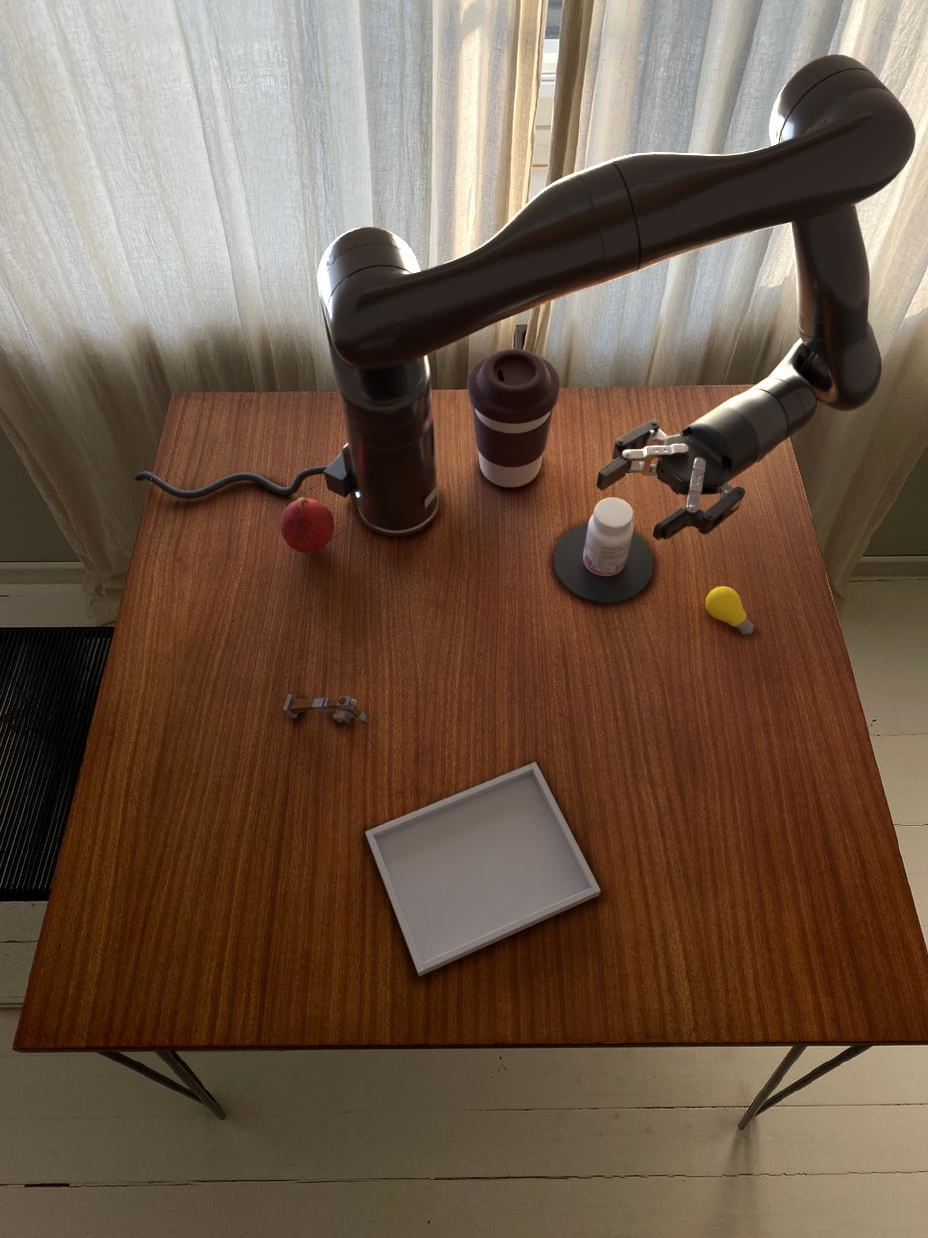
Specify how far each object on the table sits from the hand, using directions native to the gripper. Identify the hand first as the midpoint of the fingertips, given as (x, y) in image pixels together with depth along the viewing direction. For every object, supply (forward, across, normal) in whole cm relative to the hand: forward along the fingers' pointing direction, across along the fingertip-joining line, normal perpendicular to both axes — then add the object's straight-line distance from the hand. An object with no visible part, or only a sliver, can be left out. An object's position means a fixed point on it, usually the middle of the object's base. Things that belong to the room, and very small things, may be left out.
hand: (627, 508), depth 91 cm
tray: (+34, +18, +8) cm, 39 cm away
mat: (+2, 0, +8) cm, 8 cm away
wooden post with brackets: (+36, -4, +8) cm, 37 cm away
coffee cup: (+1, -18, +8) cm, 19 cm away
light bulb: (-5, +14, +6) cm, 16 cm away
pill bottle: (+2, 0, +8) cm, 8 cm away
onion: (+26, -22, +8) cm, 35 cm away
